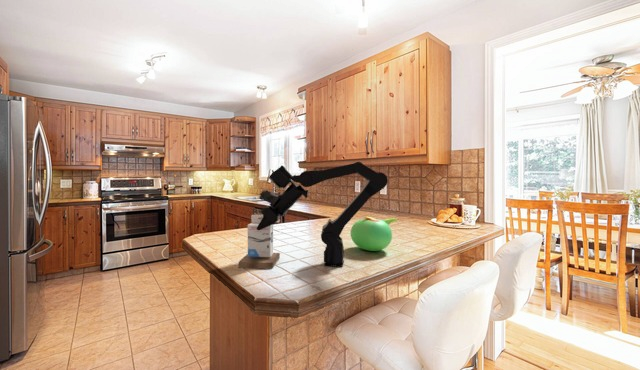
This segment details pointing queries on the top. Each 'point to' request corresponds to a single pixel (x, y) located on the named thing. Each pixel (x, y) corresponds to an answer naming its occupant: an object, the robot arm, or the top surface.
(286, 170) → the robot arm
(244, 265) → the walnut block
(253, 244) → the ink box
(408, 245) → the top surface
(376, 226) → the round green pot
